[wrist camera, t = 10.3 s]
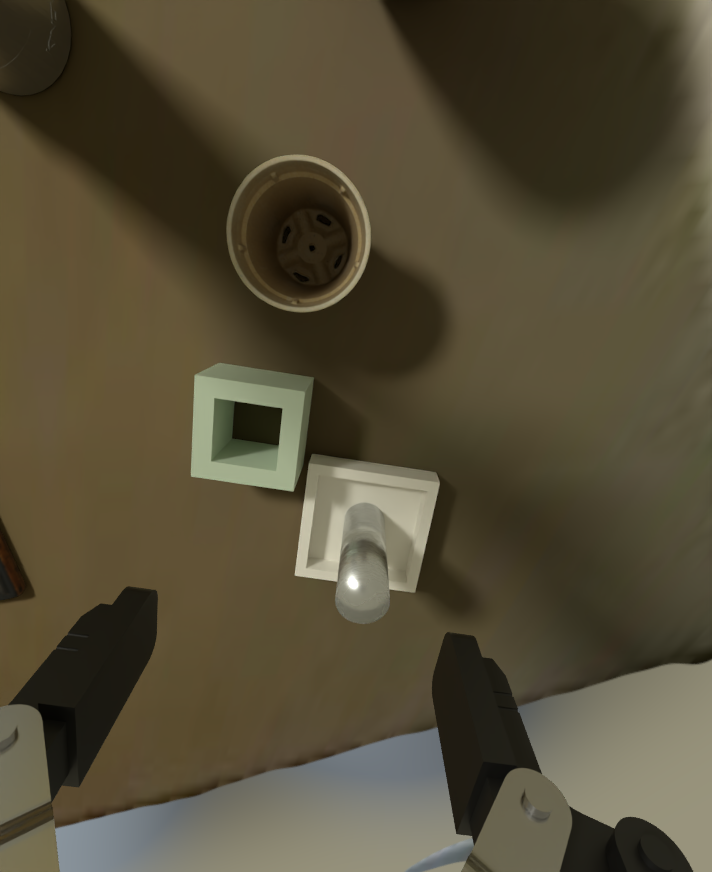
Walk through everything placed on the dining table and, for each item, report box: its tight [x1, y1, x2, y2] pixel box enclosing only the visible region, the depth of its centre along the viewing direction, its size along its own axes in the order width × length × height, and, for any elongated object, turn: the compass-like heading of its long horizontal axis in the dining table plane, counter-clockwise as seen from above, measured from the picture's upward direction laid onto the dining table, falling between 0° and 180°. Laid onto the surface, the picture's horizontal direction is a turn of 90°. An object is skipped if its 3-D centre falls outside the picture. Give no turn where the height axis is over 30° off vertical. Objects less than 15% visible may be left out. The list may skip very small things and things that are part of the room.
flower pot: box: [226, 155, 371, 312], centre depth 33 cm, size 9×9×9 cm
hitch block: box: [191, 363, 314, 491], centre depth 39 cm, size 9×9×6 cm
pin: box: [335, 503, 390, 624], centre depth 39 cm, size 4×4×12 cm
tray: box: [295, 454, 440, 593], centre depth 44 cm, size 12×12×2 cm
